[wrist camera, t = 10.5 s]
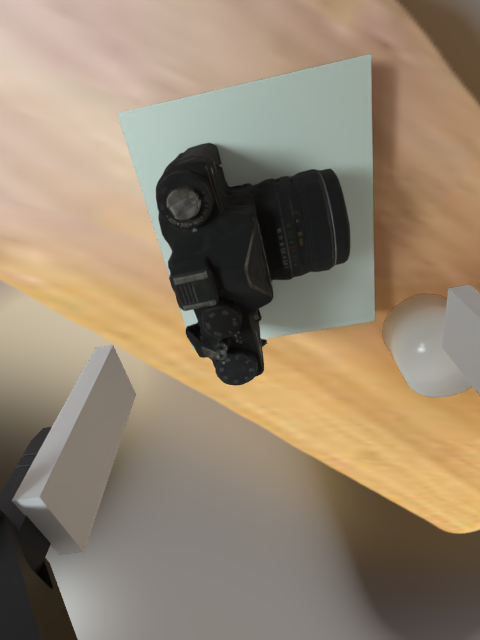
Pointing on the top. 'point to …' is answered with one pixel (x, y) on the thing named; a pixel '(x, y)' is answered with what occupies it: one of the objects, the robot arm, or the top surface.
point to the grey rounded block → (422, 346)
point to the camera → (243, 249)
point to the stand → (279, 171)
